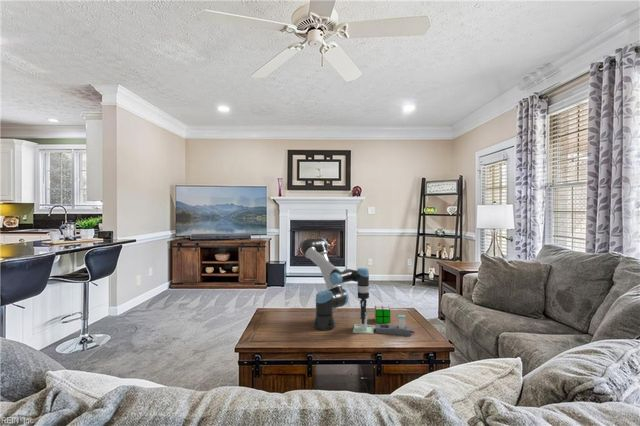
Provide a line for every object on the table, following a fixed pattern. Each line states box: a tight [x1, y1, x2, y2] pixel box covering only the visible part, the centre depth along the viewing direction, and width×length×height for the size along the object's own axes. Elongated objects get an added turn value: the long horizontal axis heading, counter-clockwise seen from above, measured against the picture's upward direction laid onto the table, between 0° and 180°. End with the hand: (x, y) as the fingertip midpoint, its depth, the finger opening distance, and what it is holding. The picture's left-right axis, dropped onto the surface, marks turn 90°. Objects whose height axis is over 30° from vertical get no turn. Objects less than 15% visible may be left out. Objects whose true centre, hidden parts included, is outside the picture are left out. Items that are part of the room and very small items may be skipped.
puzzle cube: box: [374, 304, 391, 324], centre depth 216 cm, size 10×10×10 cm
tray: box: [352, 323, 375, 335], centre depth 199 cm, size 13×13×1 cm
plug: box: [359, 311, 368, 331], centre depth 199 cm, size 4×4×11 cm
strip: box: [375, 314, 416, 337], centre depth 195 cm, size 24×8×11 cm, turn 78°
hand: (363, 326), depth 199 cm, fingers open, 8 cm apart
